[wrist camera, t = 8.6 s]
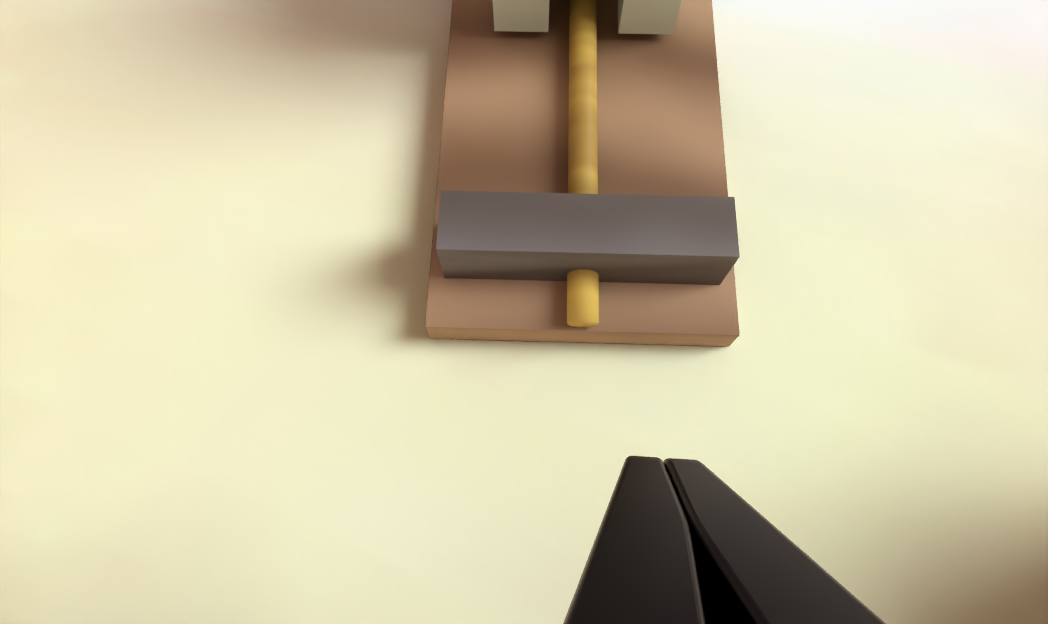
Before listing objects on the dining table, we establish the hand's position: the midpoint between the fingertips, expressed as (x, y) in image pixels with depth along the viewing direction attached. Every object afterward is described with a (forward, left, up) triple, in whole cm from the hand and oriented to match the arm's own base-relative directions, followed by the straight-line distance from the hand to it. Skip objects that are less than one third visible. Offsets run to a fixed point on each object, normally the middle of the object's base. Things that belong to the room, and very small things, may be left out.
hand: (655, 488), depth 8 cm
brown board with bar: (+16, +7, -14) cm, 22 cm away
